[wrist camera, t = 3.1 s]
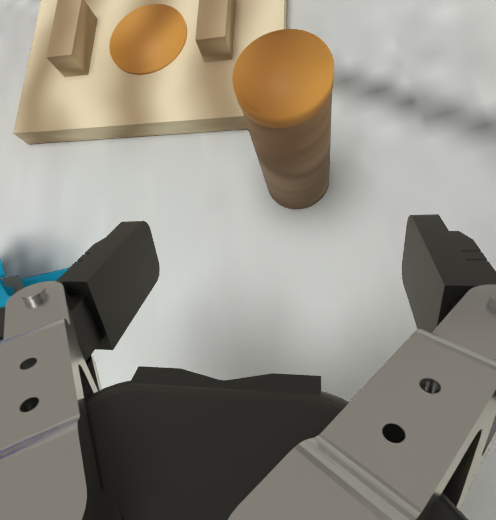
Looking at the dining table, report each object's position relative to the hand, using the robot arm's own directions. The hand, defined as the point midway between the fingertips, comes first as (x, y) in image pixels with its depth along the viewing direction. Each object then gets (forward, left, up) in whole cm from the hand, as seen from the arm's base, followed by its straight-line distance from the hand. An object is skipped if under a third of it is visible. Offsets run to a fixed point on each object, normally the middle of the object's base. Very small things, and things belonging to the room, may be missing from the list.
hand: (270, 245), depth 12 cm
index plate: (+11, -19, -12) cm, 25 cm away
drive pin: (0, -8, -12) cm, 14 cm away
